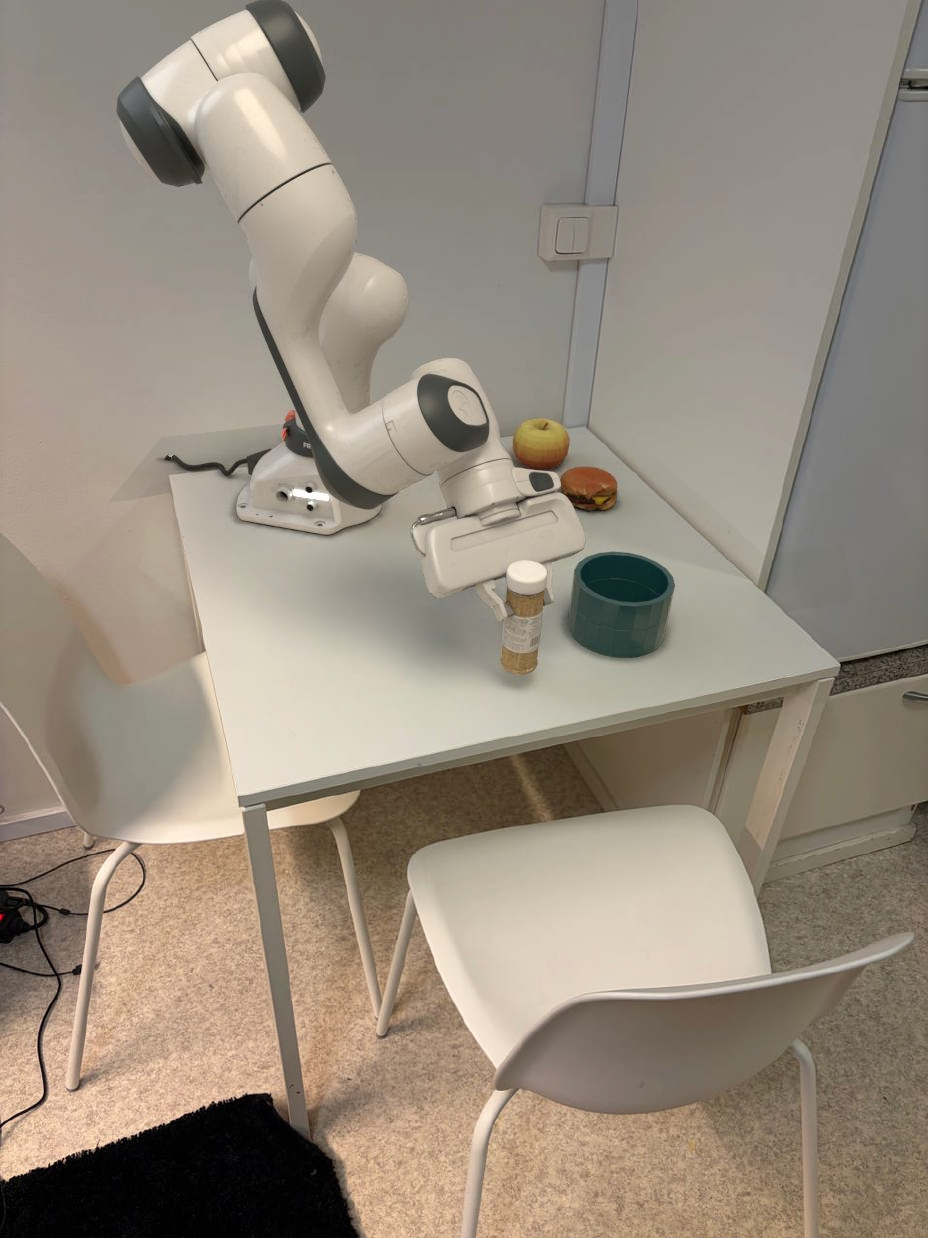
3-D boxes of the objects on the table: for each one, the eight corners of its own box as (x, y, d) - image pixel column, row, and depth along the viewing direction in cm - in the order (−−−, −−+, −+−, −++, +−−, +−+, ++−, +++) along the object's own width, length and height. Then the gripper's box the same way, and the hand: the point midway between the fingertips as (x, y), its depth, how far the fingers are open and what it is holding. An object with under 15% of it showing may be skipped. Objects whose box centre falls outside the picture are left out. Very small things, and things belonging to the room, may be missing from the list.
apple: (562, 480, 155) (567, 436, 150) (506, 472, 156) (509, 428, 152) (570, 456, 163) (575, 414, 158) (516, 448, 164) (520, 406, 160)
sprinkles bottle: (519, 648, 111) (528, 554, 103) (545, 667, 108) (556, 571, 101) (491, 662, 109) (498, 566, 101) (517, 681, 106) (526, 585, 98)
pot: (569, 654, 115) (576, 601, 111) (566, 598, 125) (572, 548, 121) (669, 661, 115) (680, 609, 110) (658, 605, 125) (668, 555, 120)
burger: (579, 480, 155) (582, 455, 152) (626, 498, 150) (630, 472, 148) (546, 500, 149) (549, 474, 146) (595, 520, 144) (598, 493, 141)
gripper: (415, 510, 97) (460, 632, 96) (569, 470, 106) (611, 581, 105) (395, 528, 103) (438, 643, 102) (543, 488, 112) (583, 594, 111)
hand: (527, 611), depth 103 cm, fingers closed on sprinkles bottle, 4 cm apart
